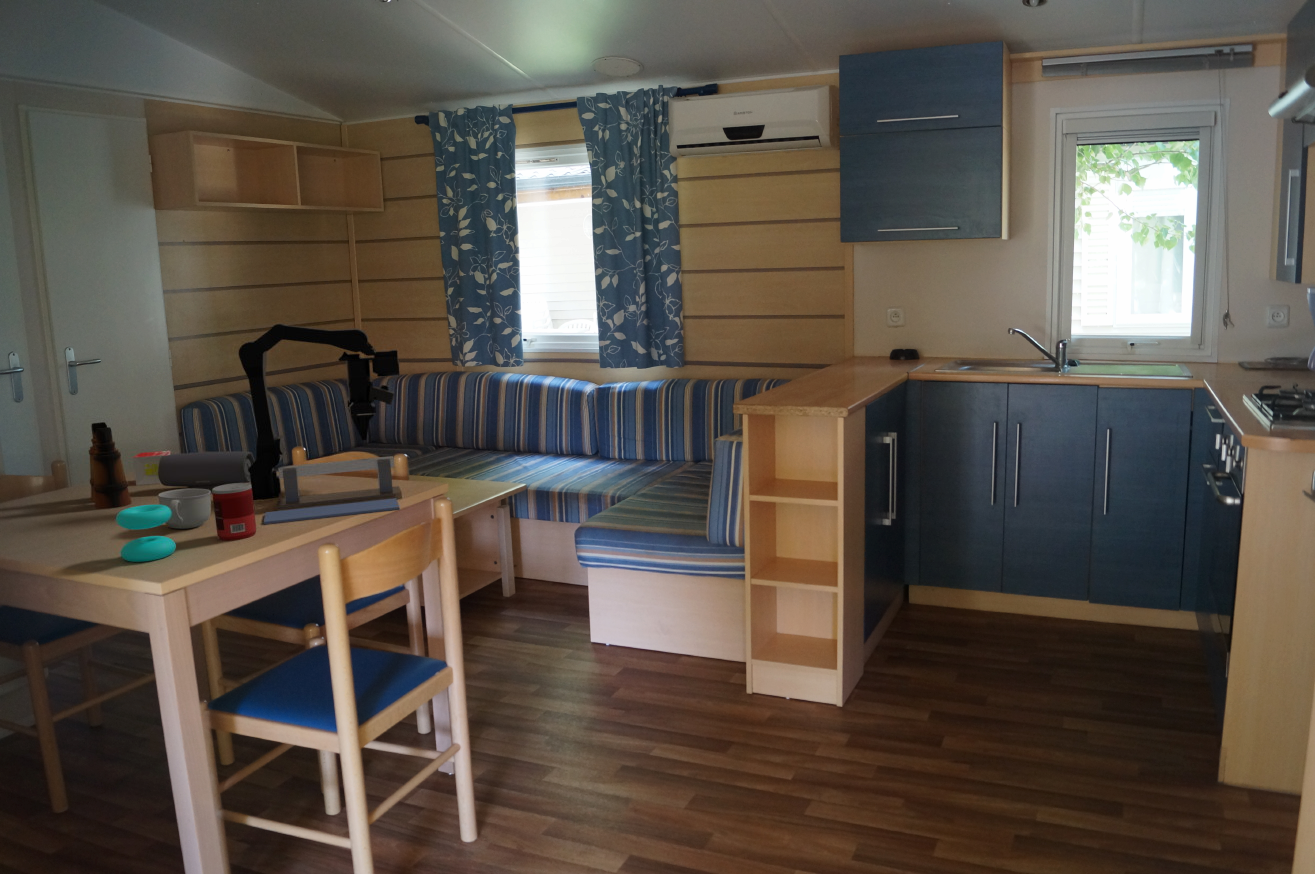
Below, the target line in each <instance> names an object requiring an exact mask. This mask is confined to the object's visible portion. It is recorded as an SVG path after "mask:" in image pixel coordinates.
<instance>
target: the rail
mask: <svg viewBox="0 0 1315 874" xmlns="http://www.w3.org/2000/svg"><path fill="white" fill-rule="evenodd" d="M385 460H390V465H391V468H395V458H394V456H393V455H391V456H382V457H381V456H380V457H370V458H360V459H359V458H358V459H348V460H339V461H329V462H328V461H327V462H319V463H307V464H296V465H294V464H293V465H288V466H287V465H286V466H278V467H277V469H278V470H277V473H278V476H279V478H280V479H283V470H291V469H296V475H297V478H298V477H307V476H317V475H328V474H329V475H330V474H338V473H339V474H340V473H348V472H359V471H368V470H369V471H370V470H377V469H378V463H377V461H385Z"/></svg>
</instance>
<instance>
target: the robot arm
mask: <svg viewBox="0 0 1315 874" xmlns="http://www.w3.org/2000/svg"><path fill="white" fill-rule="evenodd" d="M283 340H284V341H292V342H302V343H303V342H304V343H312V344H320V345H328V346H333V347H335V348H339V349H343V350H344V351H343V353H342V354H341V356H340V357H339V358H338V359H337V360H338V361H339V362H346V375H347V389H348V398H347V399H346V406H347V409H348V410H347V411H348V412H349V414H350V417H351V419H352V421H353V424H354V426H355V428H356V430H357V432H358V435H359V436H360V438H361V440H362V441H367V438H368V434H369V426H370V420H371V419H372V418H374V417H375V416H376V413H377V406H376V404H375V401H379V402H382V403H385V405H389V406H392V403H393V400H394V397H395V392H394V391H392V390H390V389H389V386H388V385H385V384H381V385H380V386H379V387H378V386H374V383H373V381H372V378H371V365H372V373H373V374H376V375H377V377H379V378H382V377H383V378H384V377H400V376H401V375H400V374H401V373H400V372H401V371H400V361H399V357H398V356H399V354H398V350H397V349H391V350H379V351H377V350H376V349H375V347H374V346H373V345H372V344H371V343H370V342H369V336H368V334H367V332H366V331H365V330H364V329H360V328H344V329H342V328H341V329H324V328H315V327H305V326H297V325H290V324H289V325H288V324H285V323H277V324H274V325H273V326H272V327H271V328H270V329H269V330H267V331H266V332H265V333H263V334H262V335H261V336H259V337H258V338H257V339H255V340H249V341H247V342H245V343H244V344H242V345H241V346H240V348H239V349H238V357H239V361H240V363H241V365H242V369H243V370H244V373H245V375H246V377H247V379H248V385H249V390H250V395H251V401H252V408H253V414H254V420H255V425H256V431H257V436H256V444H255V445H256V447H255V459H254V460H255V461H254V462H253V464H252V465H251V466H250V467H249V468H248V471H249V473H250V480H251V482H250V484H251V487H252V494H253V500H260V499H269V498H277V497H280V494H281V493H282V486H281V485H282V484H281V478H279V475H278V470H275V469H276V467H277V466H278V465H279V463H280V462H281V460H282V459H283V457H284V454H285V452H286V451H287V450H286V448H285V447H284V435H279V436H278V434H277V432H276V430H275V427H274V421H273V416H272V408H271V403H270V397H269V391H268V385H267V378H266V372H267V358H268V357H267V354H268V351H270V350H272V349H273V348H274V347H275V346H276V345H278V344H279V343H280V342H281V341H283ZM347 351H349V352H353V353H348V352H347ZM360 353H361V354H364V355H365V357H361V354H360ZM370 361H371V363H370ZM370 364H371V365H370Z"/></svg>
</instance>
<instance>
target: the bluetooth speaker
mask: <svg viewBox="0 0 1315 874" xmlns="http://www.w3.org/2000/svg"><path fill="white" fill-rule="evenodd" d="M255 460H256V459H255V458H254V454H253V453H252V451H239V450H238V451H234V450H233V451H229V450H228V451H227V450H226V451H200V452H197V451H195V452H184V453H175V454H174V453H173V454H172V453H171V455H166V456H162V457H161V459H160V461H159V468H158V477H159V480H160V482H161V483H160V484H161V485H162V486H164V487H176V488H177V487H178V488H179V487H180V488H181V487H183V488H184V487H185V488H188V489H207V490H212V489H213V488H215V487H217V486H221V485H226V484H233V483H251V480H250V473H249V471H248V468H249V467H250V466H251V465H252V464H253V462H254V461H255Z"/></svg>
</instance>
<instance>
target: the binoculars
mask: <svg viewBox="0 0 1315 874" xmlns="http://www.w3.org/2000/svg"><path fill="white" fill-rule="evenodd" d="M91 434H92V435H91V436H92V438H91V441H90V442H91V443H92V446H90V447H89V449H88V454H89V469H90V478H89V484H90V502H92V503H94V508H95V509H97V510H110V509H118V508H122V507H126V506H129V505H132V499H131V495H130V492H129V488H128V486H129V483H128V481H127V479H126V475H125V470H124V466H123V462H122V458H121V457H122V454H121V451H119V449H117V447H116V446H115V445H116V442H115V441H114V439H113V432H112V428H111V427H109V426H108V425H107V423H106V422H104V421H103V422H101V421H100V422H95V423H91Z"/></svg>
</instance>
